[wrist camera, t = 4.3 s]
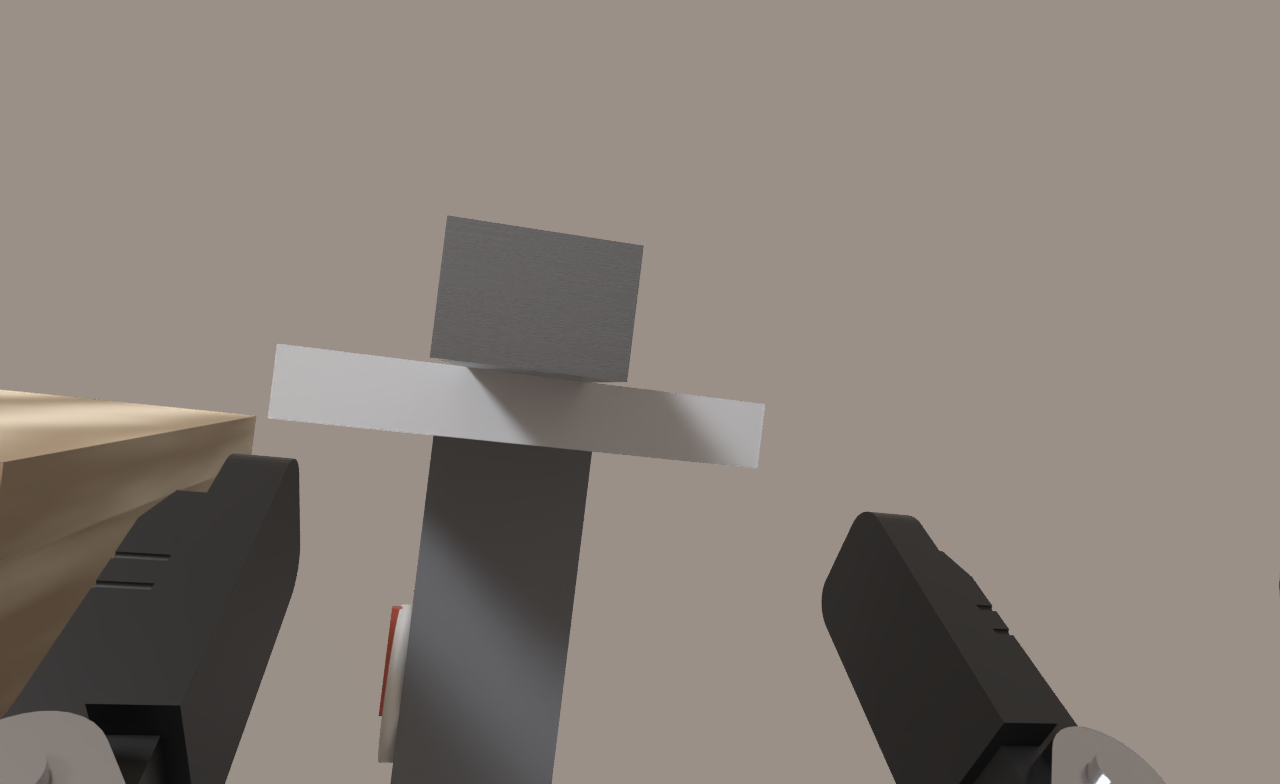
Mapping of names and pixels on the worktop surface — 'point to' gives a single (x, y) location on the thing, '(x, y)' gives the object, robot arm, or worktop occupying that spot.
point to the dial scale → (495, 539)
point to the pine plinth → (53, 592)
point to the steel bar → (536, 302)
